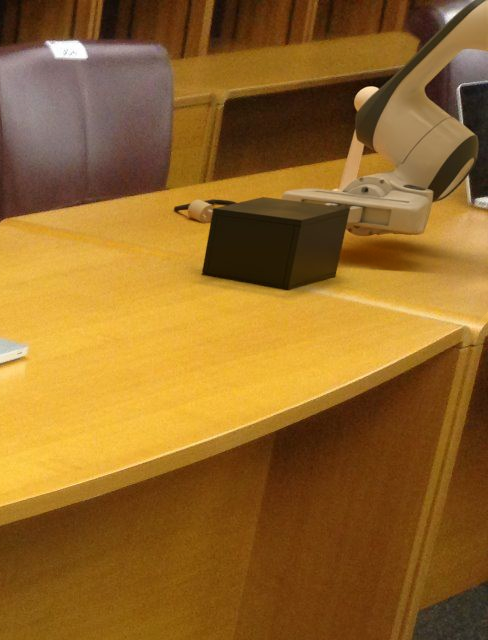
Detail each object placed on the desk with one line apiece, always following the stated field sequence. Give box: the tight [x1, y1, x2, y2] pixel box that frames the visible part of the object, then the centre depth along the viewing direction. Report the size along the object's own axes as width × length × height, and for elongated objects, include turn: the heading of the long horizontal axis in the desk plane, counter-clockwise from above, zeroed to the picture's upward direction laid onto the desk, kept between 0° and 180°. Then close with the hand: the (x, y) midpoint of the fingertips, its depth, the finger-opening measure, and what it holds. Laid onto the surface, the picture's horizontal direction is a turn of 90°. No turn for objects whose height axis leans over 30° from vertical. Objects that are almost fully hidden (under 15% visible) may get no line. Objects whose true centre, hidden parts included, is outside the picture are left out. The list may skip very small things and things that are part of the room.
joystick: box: [332, 86, 380, 192], centre depth 263 cm, size 11×8×20 cm
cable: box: [173, 198, 237, 223], centre depth 260 cm, size 16×16×4 cm
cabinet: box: [201, 196, 350, 291], centre depth 214 cm, size 15×13×10 cm
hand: (329, 215), depth 223 cm, fingers closed
